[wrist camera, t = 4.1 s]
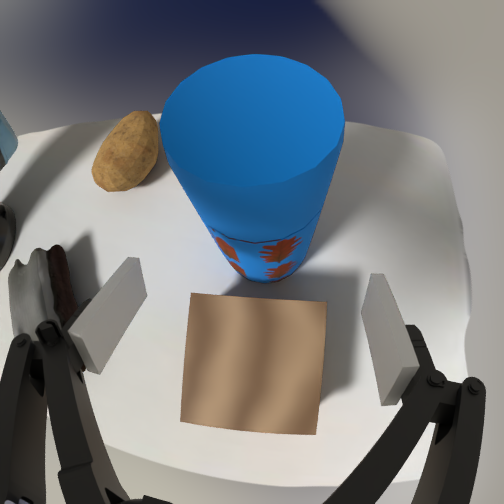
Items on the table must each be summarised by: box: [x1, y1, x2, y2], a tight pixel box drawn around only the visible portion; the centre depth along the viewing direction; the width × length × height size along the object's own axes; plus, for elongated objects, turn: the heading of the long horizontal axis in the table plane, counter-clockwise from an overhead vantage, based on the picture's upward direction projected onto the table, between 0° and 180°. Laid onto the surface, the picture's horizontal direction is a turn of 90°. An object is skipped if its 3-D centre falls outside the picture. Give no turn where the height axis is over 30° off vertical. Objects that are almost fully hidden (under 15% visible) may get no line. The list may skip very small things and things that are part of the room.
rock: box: [8, 245, 86, 372], centre depth 35 cm, size 18×11×8 cm, turn 22°
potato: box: [92, 111, 158, 192], centre depth 41 cm, size 10×14×8 cm
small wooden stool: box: [180, 293, 327, 435], centre depth 32 cm, size 14×14×7 cm
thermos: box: [159, 54, 345, 283], centre depth 27 cm, size 11×11×25 cm
